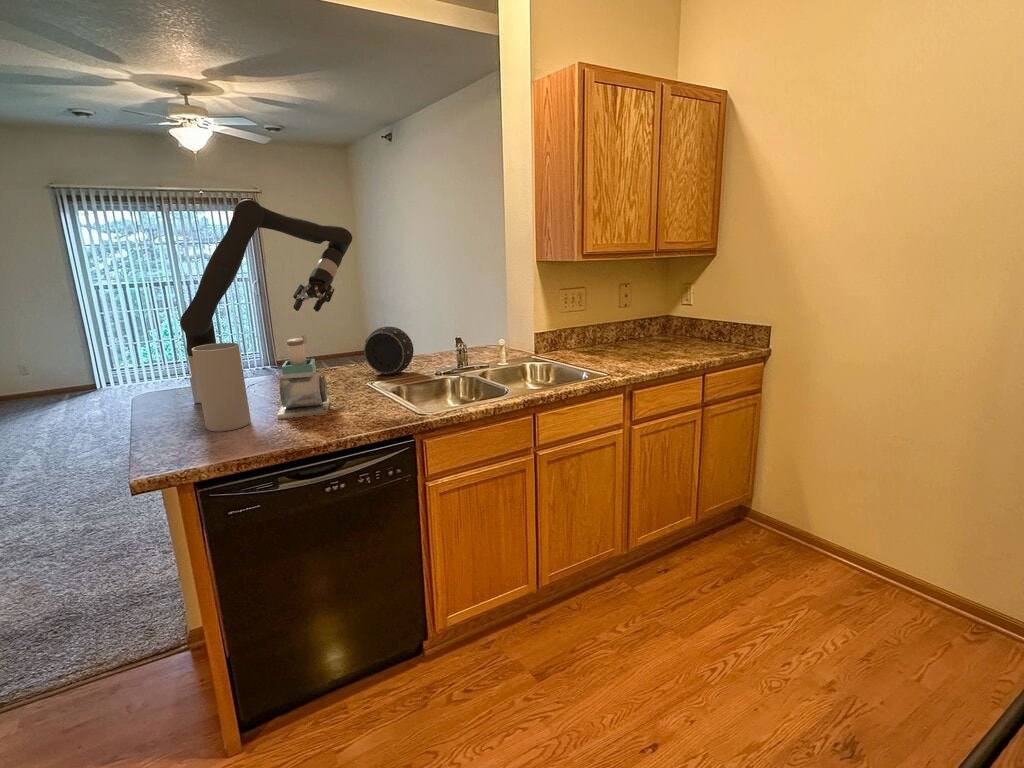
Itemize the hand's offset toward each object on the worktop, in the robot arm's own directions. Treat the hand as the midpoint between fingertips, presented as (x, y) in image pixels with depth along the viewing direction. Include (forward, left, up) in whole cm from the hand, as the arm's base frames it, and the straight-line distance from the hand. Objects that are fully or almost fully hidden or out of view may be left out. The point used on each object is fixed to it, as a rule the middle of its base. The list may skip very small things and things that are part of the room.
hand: (305, 309), depth 189 cm
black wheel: (+28, +28, -32) cm, 50 cm away
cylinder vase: (-24, -24, -32) cm, 47 cm away
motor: (-2, -15, -32) cm, 35 cm away
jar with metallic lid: (-2, -15, -18) cm, 24 cm away
